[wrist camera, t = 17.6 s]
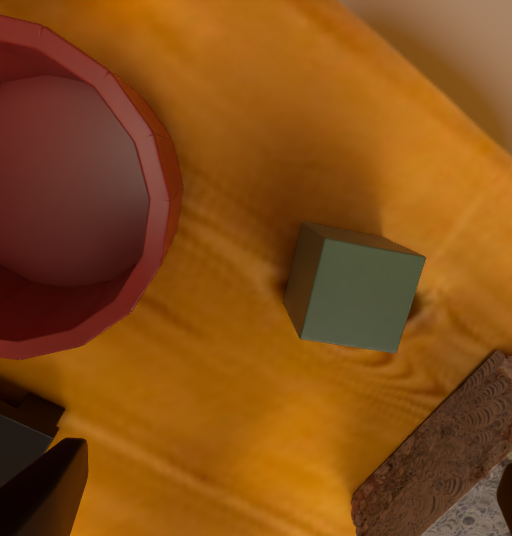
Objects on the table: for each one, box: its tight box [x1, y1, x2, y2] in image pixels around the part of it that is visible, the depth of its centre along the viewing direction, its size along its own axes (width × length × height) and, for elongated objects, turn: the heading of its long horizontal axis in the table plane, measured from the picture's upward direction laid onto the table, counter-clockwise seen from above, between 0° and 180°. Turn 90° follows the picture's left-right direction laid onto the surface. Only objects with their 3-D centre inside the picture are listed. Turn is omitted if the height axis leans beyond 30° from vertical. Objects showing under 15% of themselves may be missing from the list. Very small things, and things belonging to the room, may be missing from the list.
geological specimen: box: [351, 350, 512, 536], centre depth 23 cm, size 11×6×15 cm
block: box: [283, 222, 426, 353], centre depth 19 cm, size 4×4×4 cm
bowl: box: [0, 15, 183, 360], centre depth 16 cm, size 11×11×6 cm
